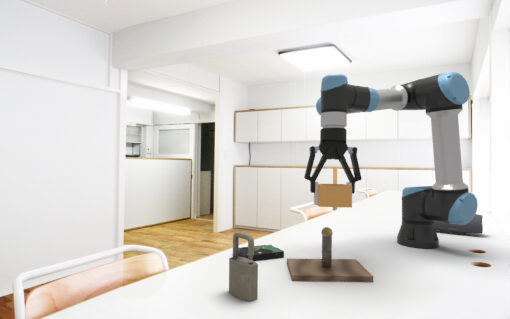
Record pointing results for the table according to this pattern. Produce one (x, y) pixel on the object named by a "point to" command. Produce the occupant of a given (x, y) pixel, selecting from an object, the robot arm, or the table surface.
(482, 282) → the table surface
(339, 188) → the hollow square frame
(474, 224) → the bluetooth speaker
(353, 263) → the wooden peg board
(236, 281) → the padlock
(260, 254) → the disk drive
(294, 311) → the table surface
